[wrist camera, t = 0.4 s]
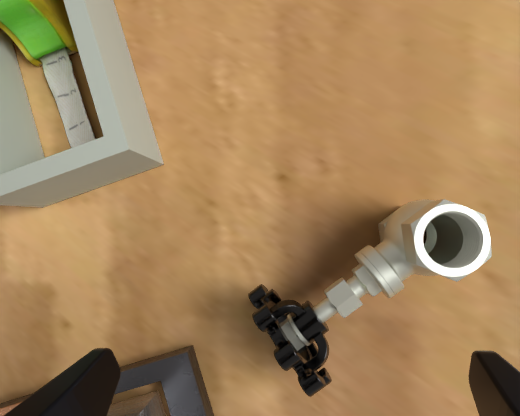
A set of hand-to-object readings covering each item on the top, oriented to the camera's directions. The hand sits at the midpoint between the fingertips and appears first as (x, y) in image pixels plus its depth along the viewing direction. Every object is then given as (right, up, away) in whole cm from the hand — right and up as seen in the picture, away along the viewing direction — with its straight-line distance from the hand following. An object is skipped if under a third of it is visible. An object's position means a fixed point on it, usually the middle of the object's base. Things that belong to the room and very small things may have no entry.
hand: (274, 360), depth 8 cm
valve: (+6, 0, +14) cm, 15 cm away
